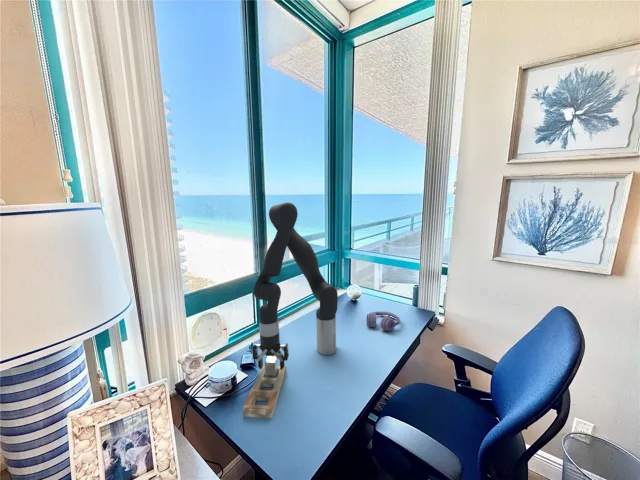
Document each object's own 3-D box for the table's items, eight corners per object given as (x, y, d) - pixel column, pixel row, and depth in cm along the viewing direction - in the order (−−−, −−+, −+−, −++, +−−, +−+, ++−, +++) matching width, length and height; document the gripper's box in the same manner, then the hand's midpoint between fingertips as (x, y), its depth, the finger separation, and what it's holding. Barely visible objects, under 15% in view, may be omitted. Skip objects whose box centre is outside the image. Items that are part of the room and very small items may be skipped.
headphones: (393, 335, 136) (403, 325, 153) (394, 320, 135) (404, 311, 153) (361, 327, 145) (373, 318, 162) (362, 312, 145) (374, 305, 162)
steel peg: (278, 376, 107) (277, 356, 106) (275, 383, 103) (274, 362, 102) (268, 376, 108) (267, 356, 106) (265, 382, 104) (264, 362, 102)
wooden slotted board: (286, 372, 110) (286, 365, 109) (272, 418, 87) (271, 409, 86) (263, 371, 110) (263, 364, 110) (243, 416, 88) (242, 408, 87)
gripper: (289, 326, 105) (290, 363, 108) (254, 325, 106) (257, 361, 109) (285, 336, 98) (286, 375, 100) (248, 335, 99) (251, 373, 102)
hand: (271, 368), depth 105 cm, fingers open, 8 cm apart
